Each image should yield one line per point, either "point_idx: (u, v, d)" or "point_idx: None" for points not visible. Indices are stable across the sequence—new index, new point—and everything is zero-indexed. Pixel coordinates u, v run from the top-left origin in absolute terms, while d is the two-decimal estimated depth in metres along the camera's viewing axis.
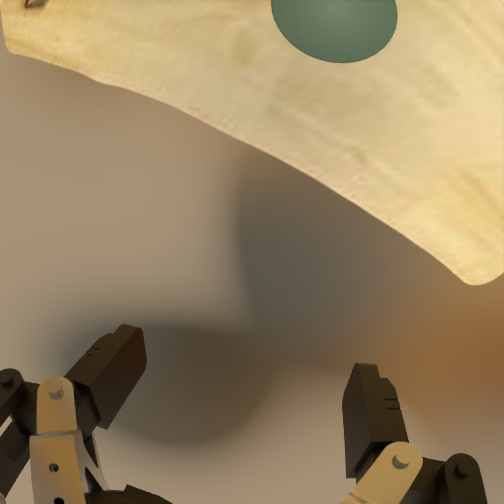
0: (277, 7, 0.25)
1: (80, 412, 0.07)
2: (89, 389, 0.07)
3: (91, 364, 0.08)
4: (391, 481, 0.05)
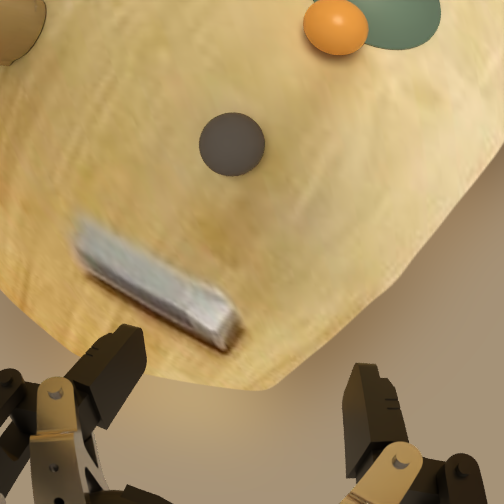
0: (379, 42, 0.21)
1: (80, 412, 0.07)
2: (89, 389, 0.07)
3: (91, 364, 0.08)
4: (391, 481, 0.05)
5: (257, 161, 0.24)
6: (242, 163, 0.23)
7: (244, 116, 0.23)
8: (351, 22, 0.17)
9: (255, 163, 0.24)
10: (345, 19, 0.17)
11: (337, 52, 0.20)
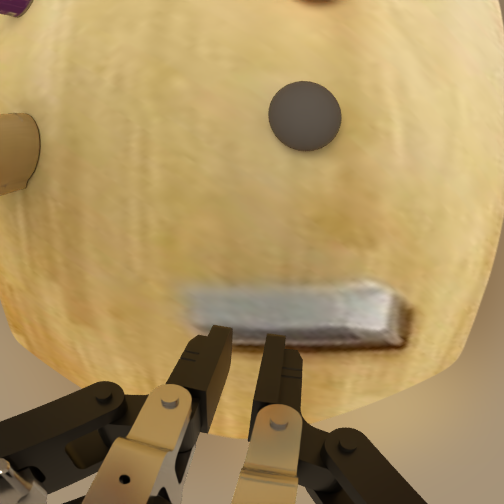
0: None
1: (194, 419, 0.08)
2: (204, 394, 0.08)
3: (198, 368, 0.09)
4: (260, 438, 0.06)
5: (340, 115, 0.20)
6: (330, 121, 0.19)
7: (300, 81, 0.20)
8: None
9: (340, 118, 0.20)
10: None
11: None
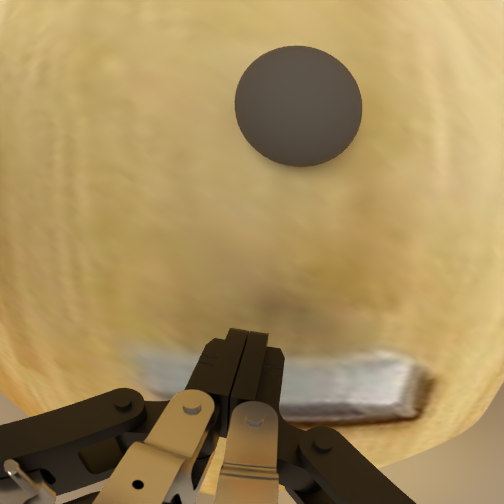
0: None
1: (216, 424, 0.07)
2: (226, 399, 0.08)
3: (218, 372, 0.09)
4: (234, 434, 0.06)
5: (361, 106, 0.11)
6: (345, 115, 0.10)
7: None
8: None
9: (361, 110, 0.11)
10: None
11: None
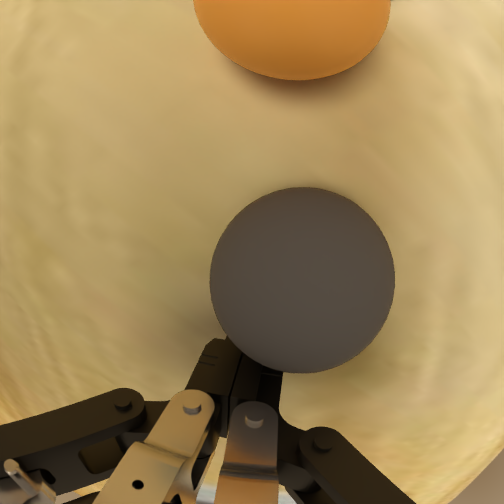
0: None
1: (216, 424, 0.07)
2: (226, 399, 0.08)
3: (218, 372, 0.09)
4: (234, 434, 0.06)
5: None
6: (386, 241, 0.08)
7: None
8: None
9: None
10: None
11: (353, 60, 0.06)
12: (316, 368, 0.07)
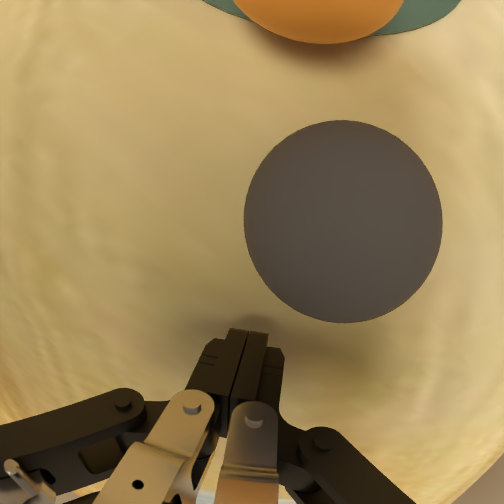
0: (411, 15, 0.08)
1: (216, 424, 0.07)
2: (226, 399, 0.08)
3: (218, 372, 0.09)
4: (234, 434, 0.06)
5: None
6: None
7: None
8: None
9: None
10: None
11: None
12: (407, 179, 0.06)
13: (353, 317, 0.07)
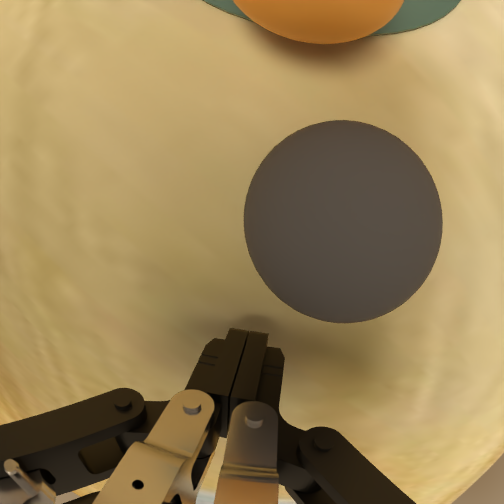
0: (411, 15, 0.08)
1: (216, 424, 0.07)
2: (226, 399, 0.08)
3: (218, 372, 0.09)
4: (234, 434, 0.06)
5: None
6: None
7: None
8: None
9: None
10: None
11: None
12: (407, 179, 0.06)
13: (353, 317, 0.07)
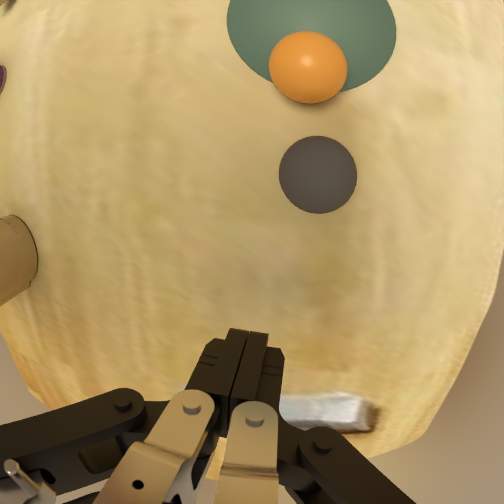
0: (355, 78, 0.20)
1: (216, 424, 0.07)
2: (226, 399, 0.08)
3: (218, 373, 0.09)
4: (234, 434, 0.06)
5: None
6: None
7: None
8: (322, 35, 0.16)
9: None
10: (315, 33, 0.16)
11: (333, 75, 0.16)
12: (336, 155, 0.18)
13: (321, 205, 0.19)
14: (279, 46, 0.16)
